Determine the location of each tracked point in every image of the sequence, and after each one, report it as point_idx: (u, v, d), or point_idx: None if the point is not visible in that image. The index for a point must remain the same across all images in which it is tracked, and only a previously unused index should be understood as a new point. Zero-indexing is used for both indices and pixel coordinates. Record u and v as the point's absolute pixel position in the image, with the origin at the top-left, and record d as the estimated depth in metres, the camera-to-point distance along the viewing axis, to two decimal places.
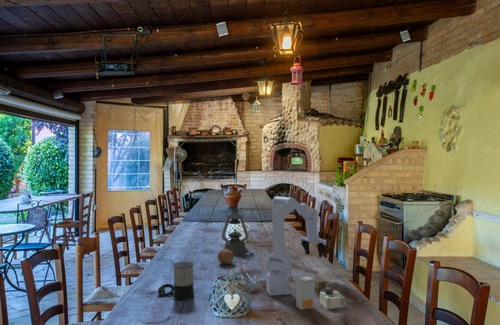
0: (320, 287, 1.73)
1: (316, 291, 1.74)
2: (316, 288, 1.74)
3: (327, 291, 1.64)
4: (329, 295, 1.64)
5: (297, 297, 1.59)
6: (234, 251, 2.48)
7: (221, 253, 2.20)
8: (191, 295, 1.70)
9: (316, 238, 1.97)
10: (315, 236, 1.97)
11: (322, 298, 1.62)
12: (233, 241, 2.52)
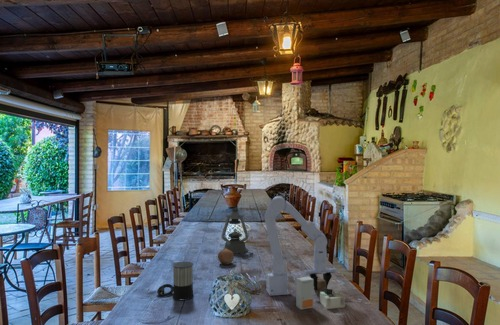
0: (320, 287, 1.73)
1: (316, 291, 1.74)
2: None
3: (327, 291, 1.64)
4: (329, 295, 1.64)
5: (297, 297, 1.59)
6: (234, 251, 2.48)
7: (221, 253, 2.20)
8: (190, 295, 1.70)
9: (314, 267, 1.75)
10: (314, 264, 1.76)
11: (322, 298, 1.62)
12: (233, 241, 2.52)
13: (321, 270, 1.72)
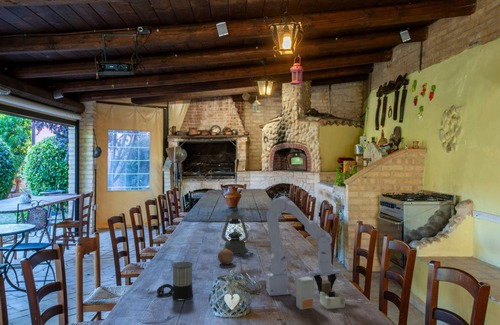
0: (324, 289, 1.68)
1: None
2: None
3: (329, 293, 1.62)
4: None
5: (297, 297, 1.59)
6: (234, 251, 2.48)
7: (221, 253, 2.20)
8: (190, 295, 1.70)
9: (318, 269, 1.70)
10: (318, 265, 1.70)
11: (322, 298, 1.62)
12: (233, 241, 2.52)
13: (326, 271, 1.66)
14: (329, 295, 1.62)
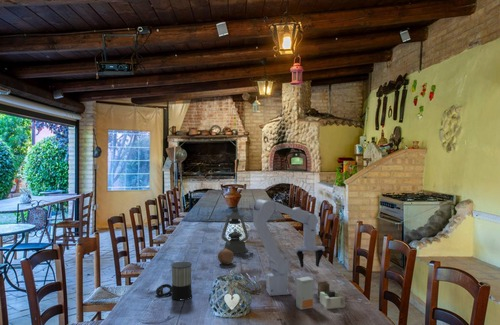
0: (323, 290, 1.69)
1: (319, 294, 1.70)
2: (319, 291, 1.70)
3: (329, 293, 1.62)
4: None
5: (297, 297, 1.59)
6: (234, 251, 2.48)
7: (221, 253, 2.20)
8: (189, 295, 1.70)
9: None
10: None
11: (322, 298, 1.62)
12: (233, 241, 2.52)
13: (310, 247, 1.80)
14: (329, 295, 1.62)
